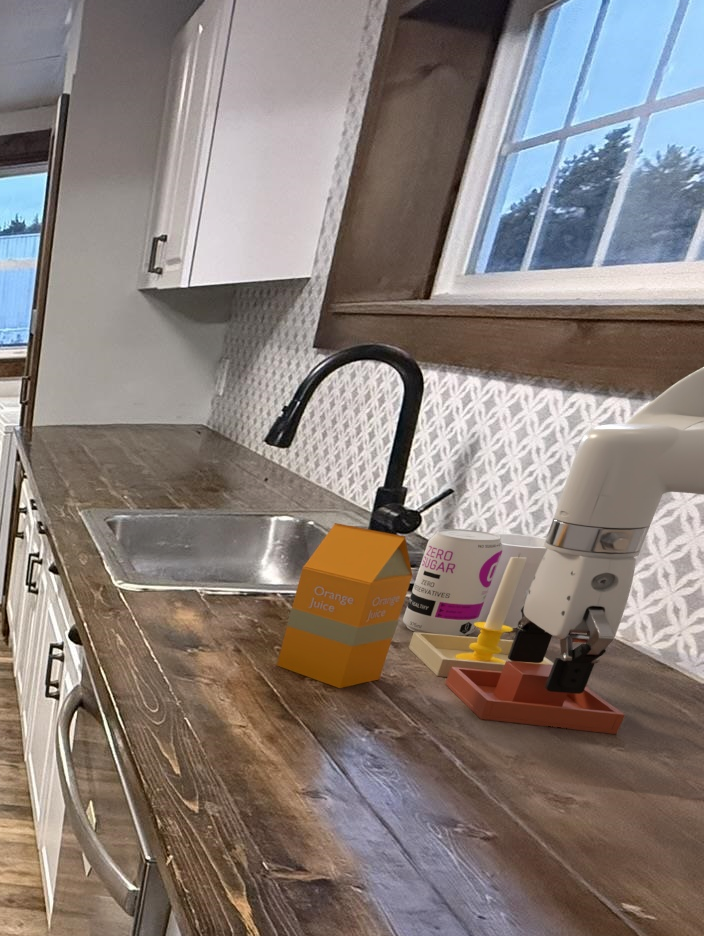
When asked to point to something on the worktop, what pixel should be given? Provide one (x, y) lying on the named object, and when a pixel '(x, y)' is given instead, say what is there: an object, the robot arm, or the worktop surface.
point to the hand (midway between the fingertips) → (542, 675)
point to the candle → (496, 616)
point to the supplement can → (453, 582)
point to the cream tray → (455, 652)
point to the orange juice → (347, 606)
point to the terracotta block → (527, 684)
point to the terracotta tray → (532, 705)
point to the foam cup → (534, 553)
